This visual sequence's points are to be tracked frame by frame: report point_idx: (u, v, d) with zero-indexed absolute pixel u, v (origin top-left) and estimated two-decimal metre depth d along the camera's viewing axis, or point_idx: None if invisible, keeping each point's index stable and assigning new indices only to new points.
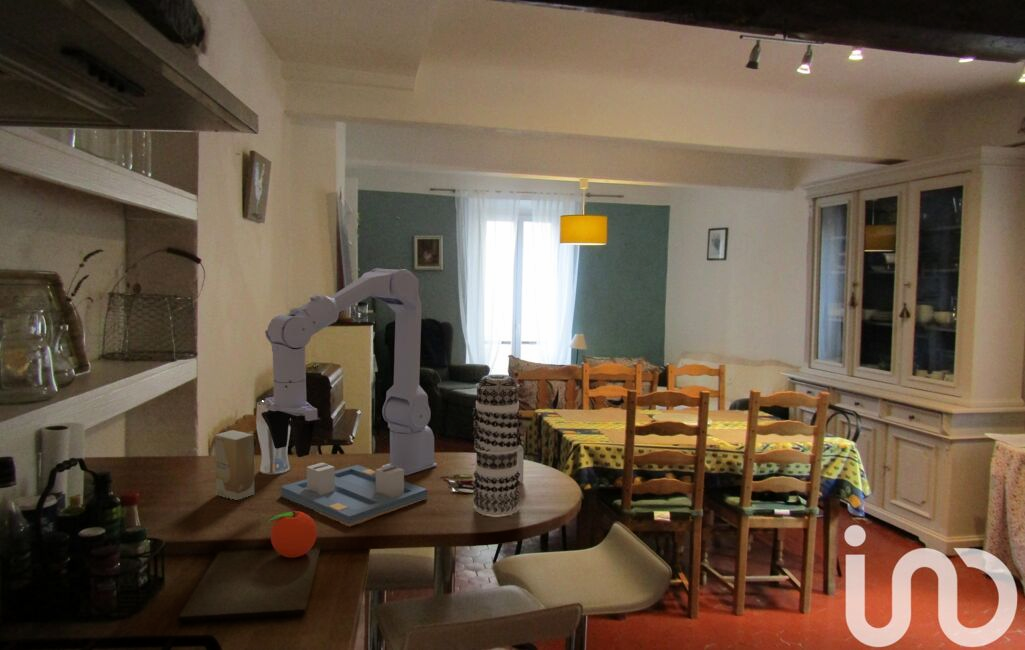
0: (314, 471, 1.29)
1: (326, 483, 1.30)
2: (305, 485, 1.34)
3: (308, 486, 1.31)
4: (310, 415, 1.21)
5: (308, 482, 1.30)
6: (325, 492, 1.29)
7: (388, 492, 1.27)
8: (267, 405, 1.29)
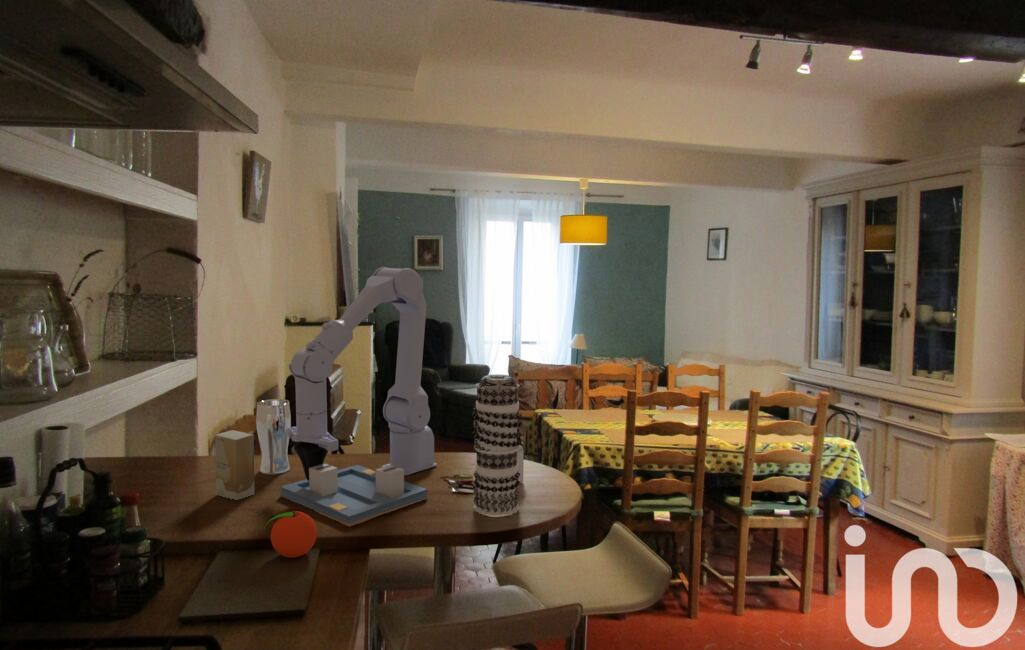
0: (317, 472, 1.28)
1: (329, 484, 1.29)
2: (305, 485, 1.34)
3: (311, 487, 1.30)
4: (331, 446, 1.27)
5: (311, 483, 1.30)
6: (327, 493, 1.29)
7: (388, 492, 1.27)
8: (289, 434, 1.35)
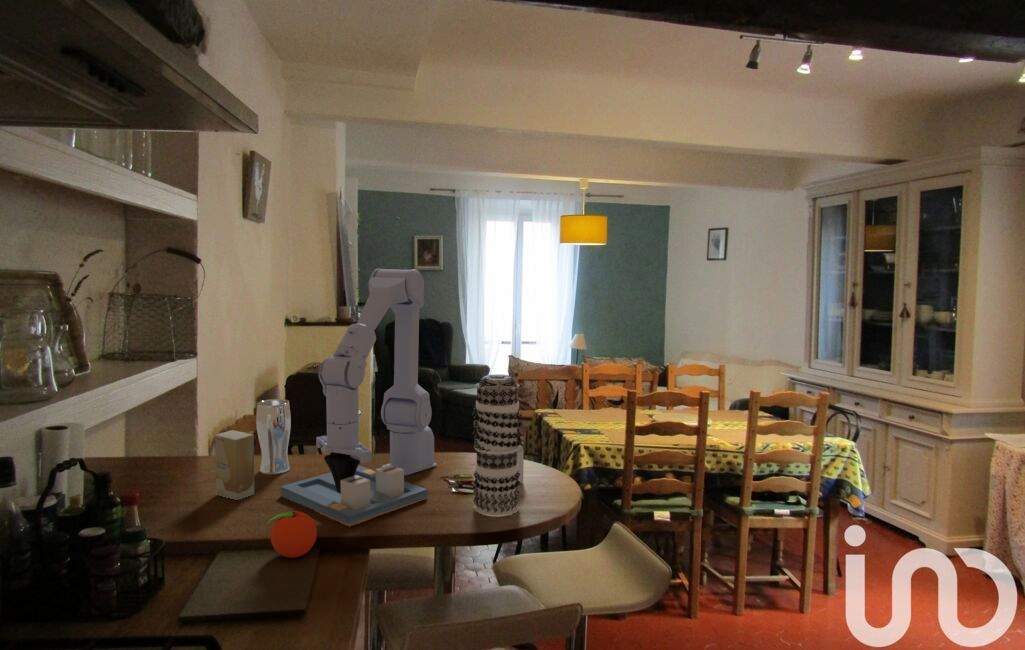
0: (349, 485, 1.22)
1: (362, 497, 1.22)
2: (305, 485, 1.34)
3: (342, 500, 1.23)
4: (365, 457, 1.20)
5: (342, 496, 1.23)
6: (360, 507, 1.22)
7: (388, 492, 1.27)
8: (318, 444, 1.29)
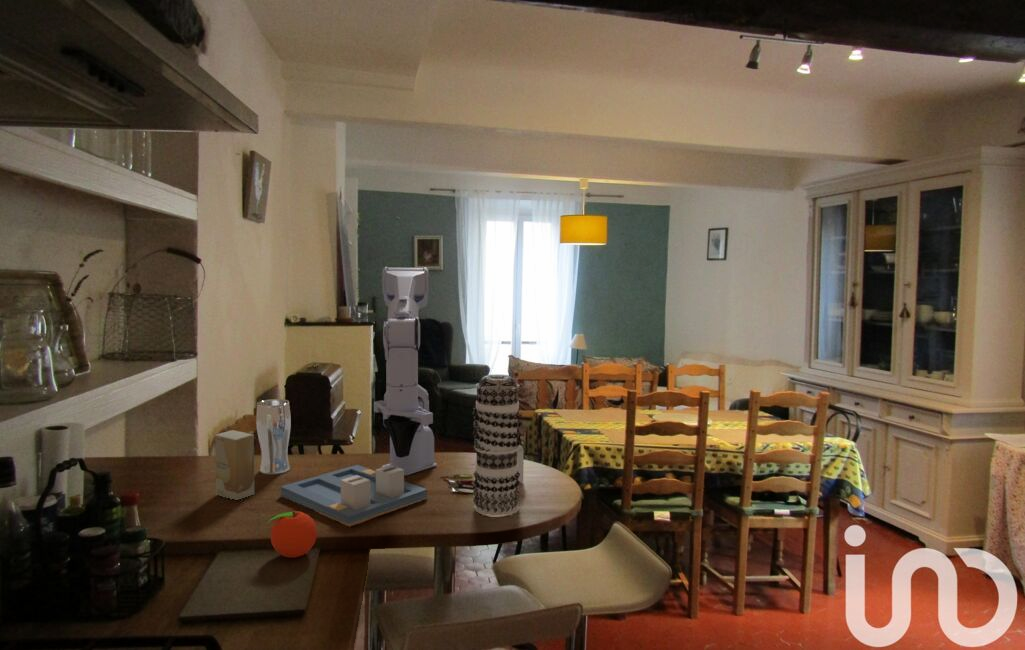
0: (349, 485, 1.22)
1: (362, 497, 1.22)
2: (305, 485, 1.34)
3: (342, 500, 1.23)
4: (426, 419, 1.19)
5: (342, 496, 1.23)
6: (360, 507, 1.22)
7: (388, 492, 1.27)
8: (376, 409, 1.28)
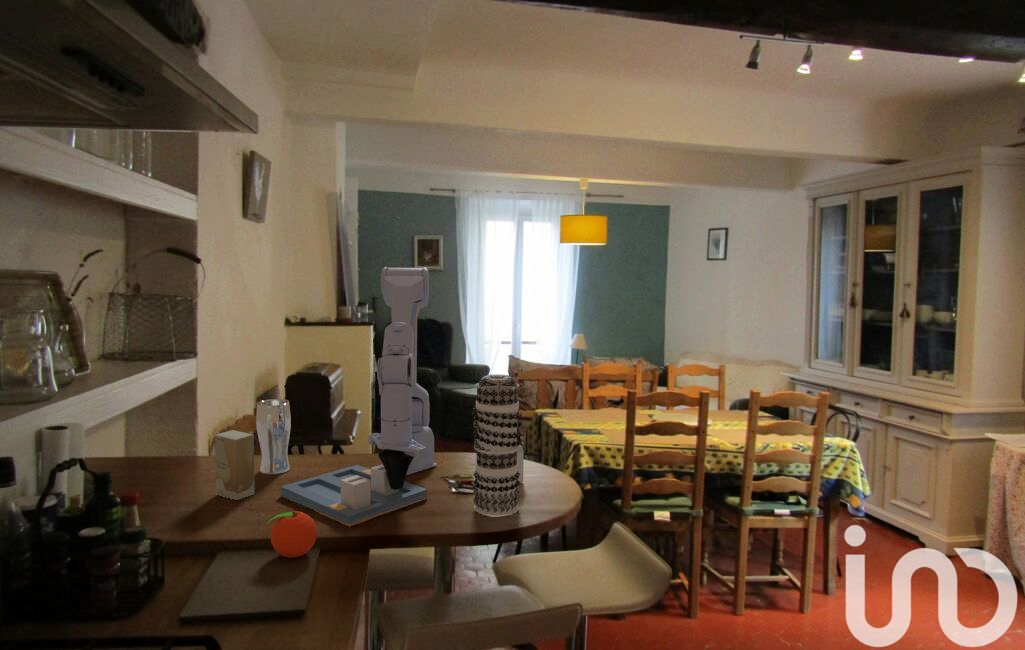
0: (349, 485, 1.22)
1: (362, 497, 1.22)
2: (305, 485, 1.34)
3: (342, 500, 1.23)
4: (420, 454, 1.23)
5: (342, 496, 1.23)
6: (360, 507, 1.22)
7: (383, 490, 1.28)
8: (371, 441, 1.31)
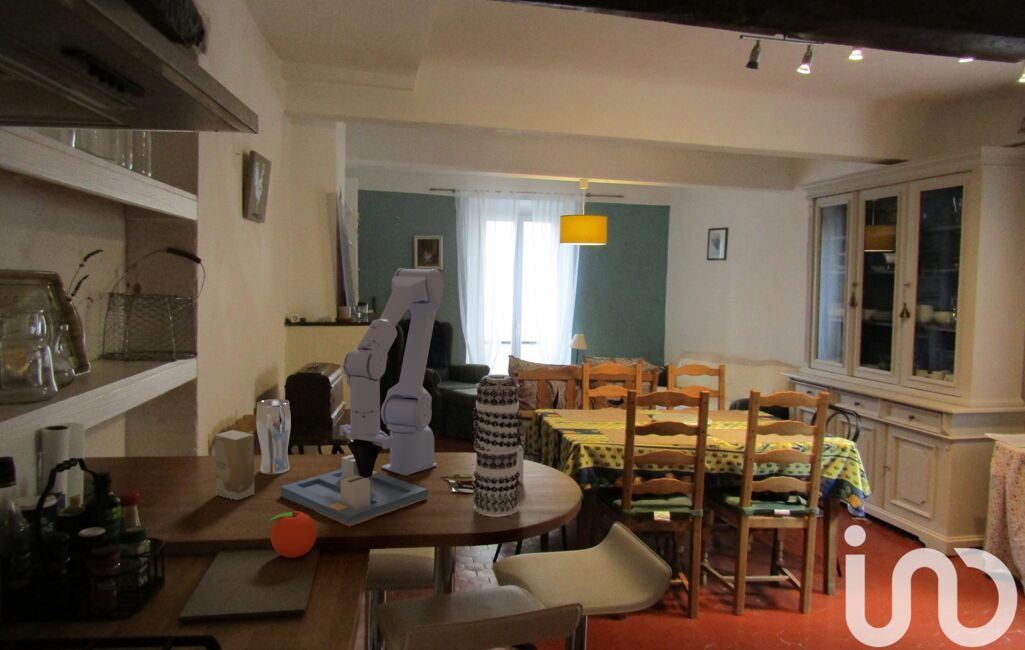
0: (349, 485, 1.22)
1: (362, 497, 1.22)
2: (305, 485, 1.34)
3: (342, 500, 1.23)
4: (387, 443, 1.29)
5: (342, 496, 1.23)
6: (360, 507, 1.22)
7: None
8: (341, 432, 1.37)
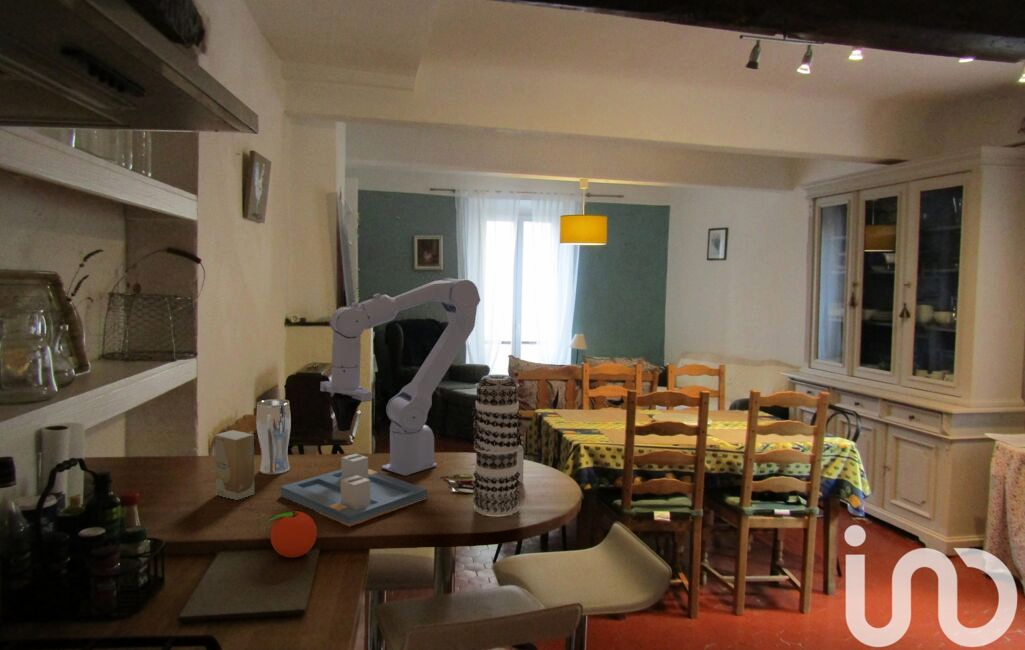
0: (349, 485, 1.22)
1: (362, 497, 1.22)
2: (305, 485, 1.34)
3: (342, 500, 1.23)
4: (366, 397, 1.36)
5: (342, 496, 1.23)
6: (360, 507, 1.22)
7: None
8: (322, 388, 1.44)
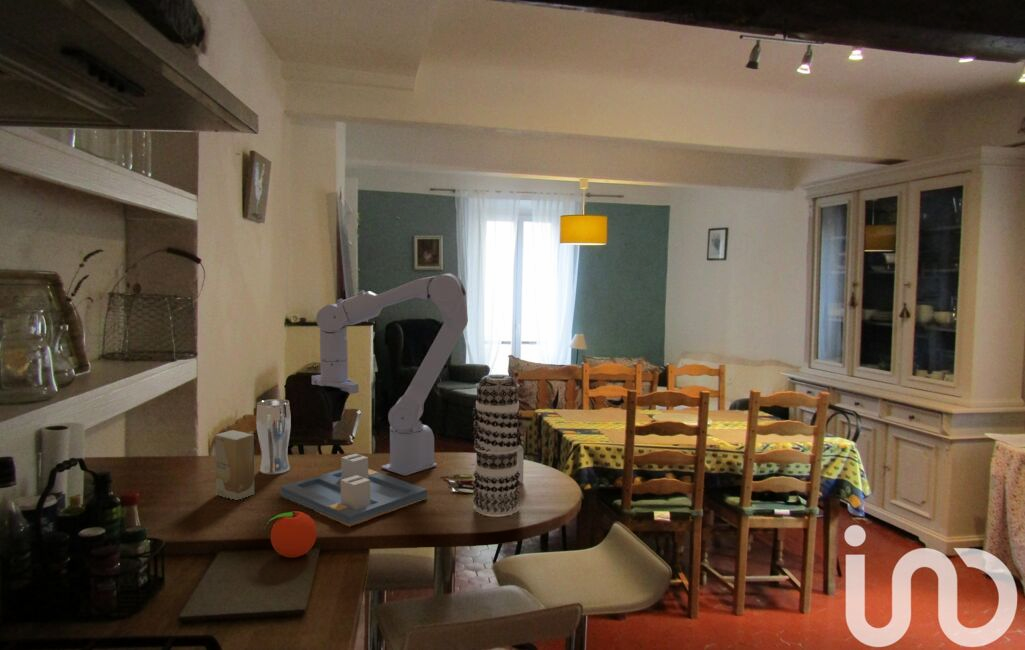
0: (349, 485, 1.22)
1: (362, 497, 1.22)
2: (305, 485, 1.34)
3: (342, 500, 1.23)
4: (353, 389, 1.42)
5: (342, 496, 1.23)
6: (360, 507, 1.22)
7: None
8: (313, 382, 1.50)
